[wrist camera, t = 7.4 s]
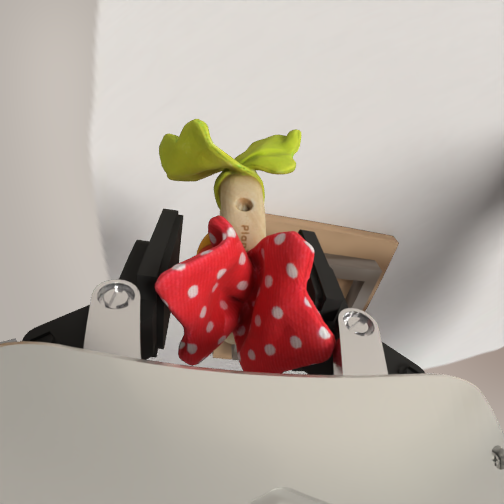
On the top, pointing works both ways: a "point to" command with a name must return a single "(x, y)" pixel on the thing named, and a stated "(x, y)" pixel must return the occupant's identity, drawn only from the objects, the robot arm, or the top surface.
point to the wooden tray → (338, 261)
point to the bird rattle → (242, 262)
